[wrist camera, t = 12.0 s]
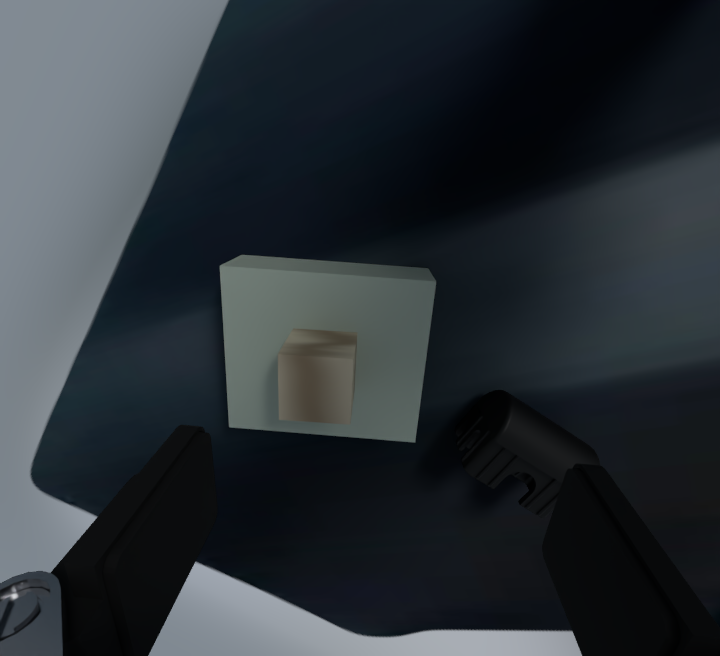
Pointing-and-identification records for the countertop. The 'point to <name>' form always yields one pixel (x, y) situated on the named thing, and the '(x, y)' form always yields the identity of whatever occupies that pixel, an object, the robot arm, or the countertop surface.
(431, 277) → the sage stand
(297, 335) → the maple cube
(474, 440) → the end cap
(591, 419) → the countertop surface
